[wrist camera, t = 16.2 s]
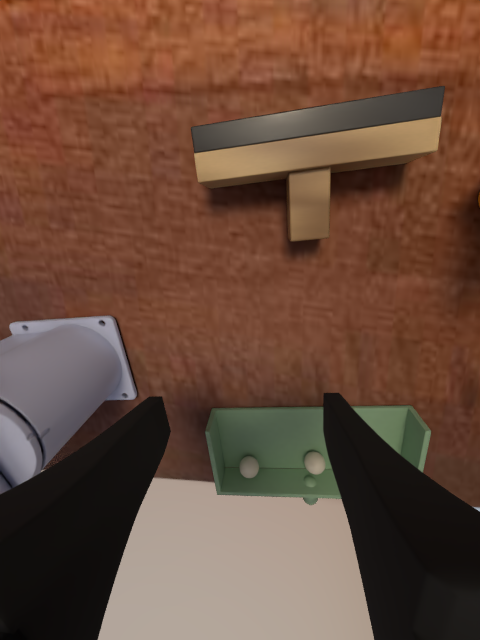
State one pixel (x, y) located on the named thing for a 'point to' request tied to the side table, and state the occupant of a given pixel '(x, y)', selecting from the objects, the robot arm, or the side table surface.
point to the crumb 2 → (314, 463)
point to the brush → (318, 149)
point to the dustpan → (297, 447)
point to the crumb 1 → (249, 467)
